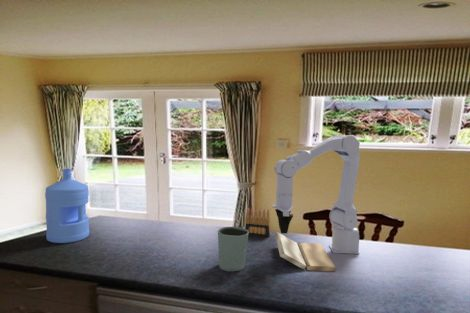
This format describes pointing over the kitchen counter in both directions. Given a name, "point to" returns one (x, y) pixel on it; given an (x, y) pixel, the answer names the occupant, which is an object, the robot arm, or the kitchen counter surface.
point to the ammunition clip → (258, 223)
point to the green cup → (232, 248)
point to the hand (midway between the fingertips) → (283, 231)
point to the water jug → (66, 210)
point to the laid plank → (315, 257)
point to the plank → (289, 250)
